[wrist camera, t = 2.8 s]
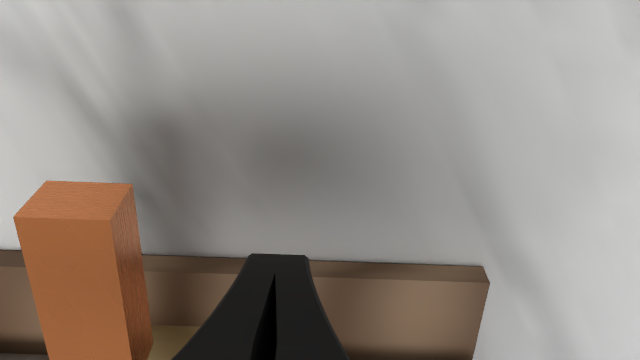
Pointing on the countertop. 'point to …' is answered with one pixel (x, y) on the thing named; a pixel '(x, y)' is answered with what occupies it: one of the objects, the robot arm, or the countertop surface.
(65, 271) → the valve lever
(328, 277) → the valve board
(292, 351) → the robot arm
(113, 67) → the countertop surface
